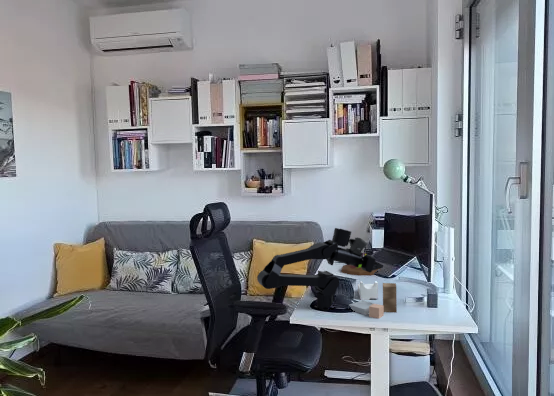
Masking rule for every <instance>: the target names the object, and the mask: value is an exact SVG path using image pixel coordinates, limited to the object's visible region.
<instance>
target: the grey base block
mask: <svg viewBox="0 0 554 396" xmlns="http://www.w3.org/2000/svg"><path fill="white" fill-rule="evenodd" d="M372 304H375V303H373V302H370V301H367V300H360V301H355V302H353V303H350V304H348V307H349V306H350V307H351V309H352V310H353V311H352V312H354V311H355V313H358V314H362V315H365V314H366V315H369V306H371V305H372Z"/></svg>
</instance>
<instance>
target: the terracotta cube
mask: <svg viewBox="0 0 554 396" xmlns="http://www.w3.org/2000/svg"><path fill="white" fill-rule="evenodd" d="M384 313H385V312H384V305H383V304H378V303H374V304H372V305H371V306H369V314H368V316H369V318H373V319H381V318H383V317H384V315H385V314H384Z"/></svg>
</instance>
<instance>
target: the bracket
mask: <svg viewBox="0 0 554 396" xmlns="http://www.w3.org/2000/svg"><path fill="white" fill-rule="evenodd" d="M357 292H358V296H359V298H360V301H370V299H379V283H378V281H376V280H375V281H374V283H364V282H363V281H362V280H360V281H359V283H358V284H357Z"/></svg>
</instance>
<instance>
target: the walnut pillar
mask: <svg viewBox="0 0 554 396" xmlns="http://www.w3.org/2000/svg"><path fill="white" fill-rule="evenodd" d="M382 305H384V313H394V314H395V313H398V312H397V310H398V309H397V308H398V307H397V305H398V304H397V284H396V283H394V282H393V283H391V282H382Z"/></svg>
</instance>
